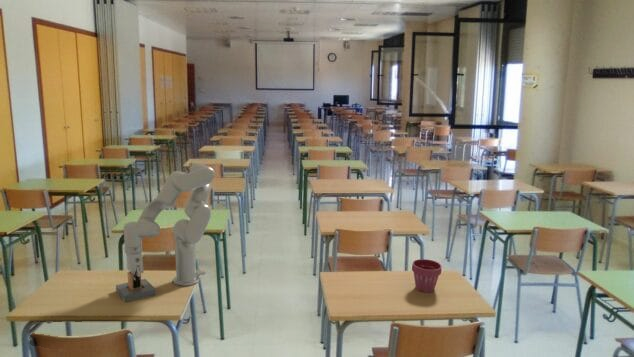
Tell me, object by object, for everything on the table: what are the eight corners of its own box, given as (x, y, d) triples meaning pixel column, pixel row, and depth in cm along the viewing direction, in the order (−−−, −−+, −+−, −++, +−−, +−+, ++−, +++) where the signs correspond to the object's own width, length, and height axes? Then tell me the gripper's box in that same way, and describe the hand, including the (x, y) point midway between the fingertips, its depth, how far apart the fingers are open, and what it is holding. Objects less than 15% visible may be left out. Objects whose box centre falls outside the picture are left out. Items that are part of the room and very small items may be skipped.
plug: (139, 288, 243) (138, 270, 241) (141, 291, 240) (141, 273, 238) (128, 290, 240) (127, 272, 238) (131, 293, 237) (130, 275, 235)
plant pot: (445, 291, 251) (447, 267, 248) (422, 296, 245) (424, 271, 242) (427, 280, 263) (429, 257, 261) (405, 285, 257) (406, 261, 255)
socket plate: (145, 284, 250) (145, 278, 250) (155, 294, 239) (155, 288, 239) (116, 291, 242) (115, 285, 241) (125, 302, 231) (124, 295, 230)
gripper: (147, 252, 232) (149, 290, 236) (135, 242, 245) (137, 278, 249) (131, 255, 227) (132, 293, 231) (119, 244, 240) (121, 281, 244)
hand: (135, 285), depth 240 cm, fingers closed on plug, 4 cm apart
